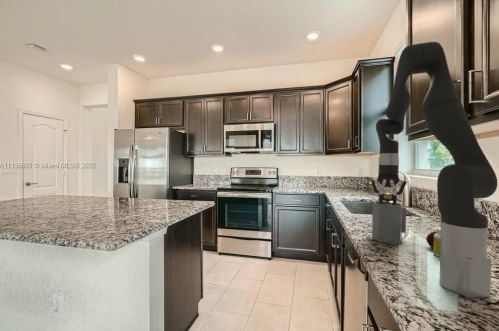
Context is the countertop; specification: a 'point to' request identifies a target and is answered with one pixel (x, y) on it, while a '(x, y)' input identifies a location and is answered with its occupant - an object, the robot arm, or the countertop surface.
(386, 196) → the plunger
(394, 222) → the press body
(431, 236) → the potato
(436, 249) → the supplement bottle
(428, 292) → the countertop surface
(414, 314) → the countertop surface
